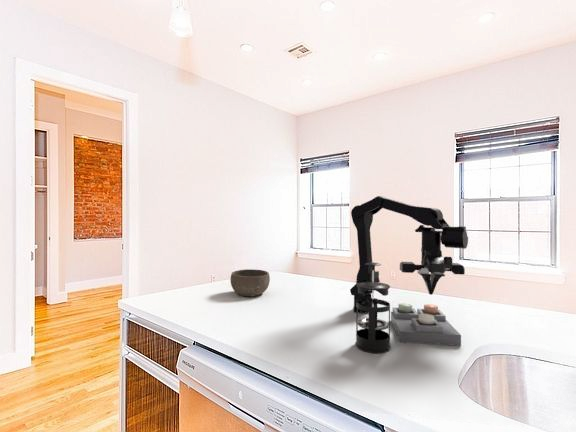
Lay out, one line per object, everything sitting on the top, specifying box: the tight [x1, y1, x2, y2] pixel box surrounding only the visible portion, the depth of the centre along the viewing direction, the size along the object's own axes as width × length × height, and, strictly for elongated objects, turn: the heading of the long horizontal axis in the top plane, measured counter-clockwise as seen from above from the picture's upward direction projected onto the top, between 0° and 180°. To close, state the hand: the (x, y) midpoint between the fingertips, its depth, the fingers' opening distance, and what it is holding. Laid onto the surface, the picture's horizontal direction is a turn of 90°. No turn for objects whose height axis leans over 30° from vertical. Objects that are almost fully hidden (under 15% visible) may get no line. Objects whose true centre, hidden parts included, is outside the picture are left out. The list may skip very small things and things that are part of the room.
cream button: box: [419, 314, 434, 324], centre depth 96 cm, size 4×4×2 cm
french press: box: [355, 261, 392, 354], centre depth 90 cm, size 12×9×23 cm
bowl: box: [230, 268, 271, 297], centre depth 148 cm, size 17×18×10 cm
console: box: [390, 307, 462, 347], centre depth 101 cm, size 16×19×4 cm
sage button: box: [397, 302, 413, 312], centre depth 107 cm, size 4×4×2 cm
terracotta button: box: [423, 303, 439, 314], centre depth 106 cm, size 4×4×2 cm
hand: (430, 294), depth 106 cm, fingers closed
